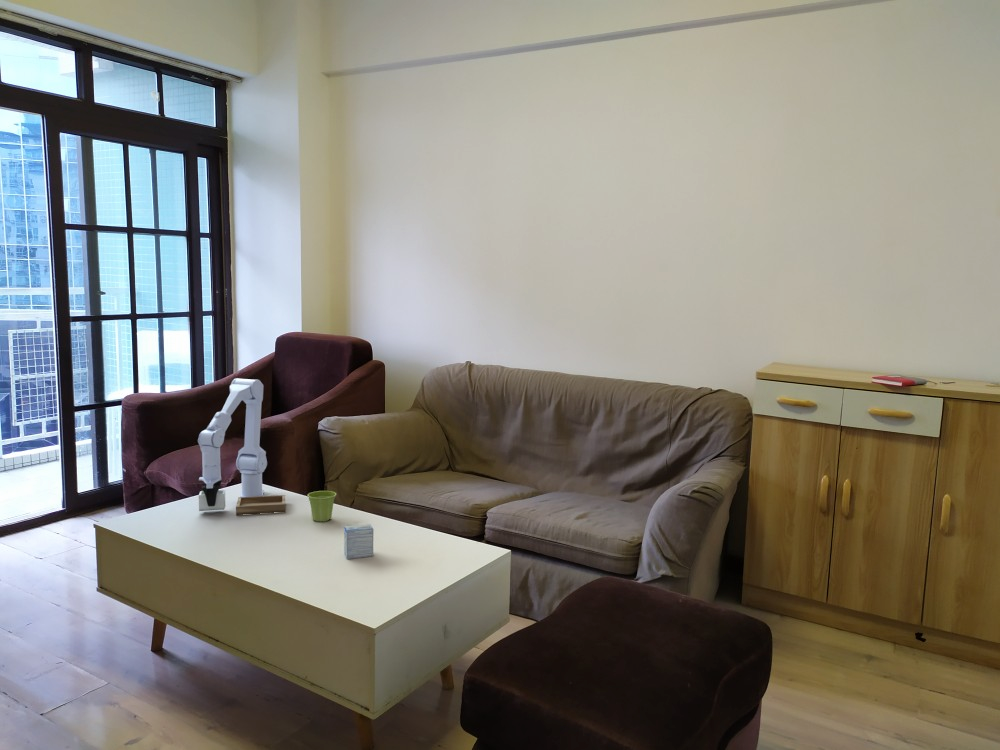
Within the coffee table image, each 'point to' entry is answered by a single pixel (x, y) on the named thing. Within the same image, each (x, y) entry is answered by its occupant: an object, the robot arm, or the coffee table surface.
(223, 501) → the white crate
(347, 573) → the coffee table surface
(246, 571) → the coffee table surface
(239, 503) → the walnut crate
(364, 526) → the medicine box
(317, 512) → the plant pot
